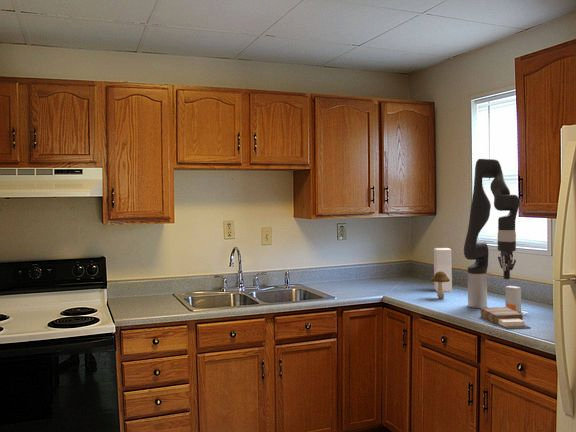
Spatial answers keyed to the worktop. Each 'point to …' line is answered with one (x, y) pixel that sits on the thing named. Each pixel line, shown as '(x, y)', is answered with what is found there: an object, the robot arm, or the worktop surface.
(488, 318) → the brown flat block
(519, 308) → the skincare box
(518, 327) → the mat
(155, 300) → the worktop surface
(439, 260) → the tall white carton
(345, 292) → the worktop surface
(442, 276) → the mushroom
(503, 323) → the cream rectangular block
